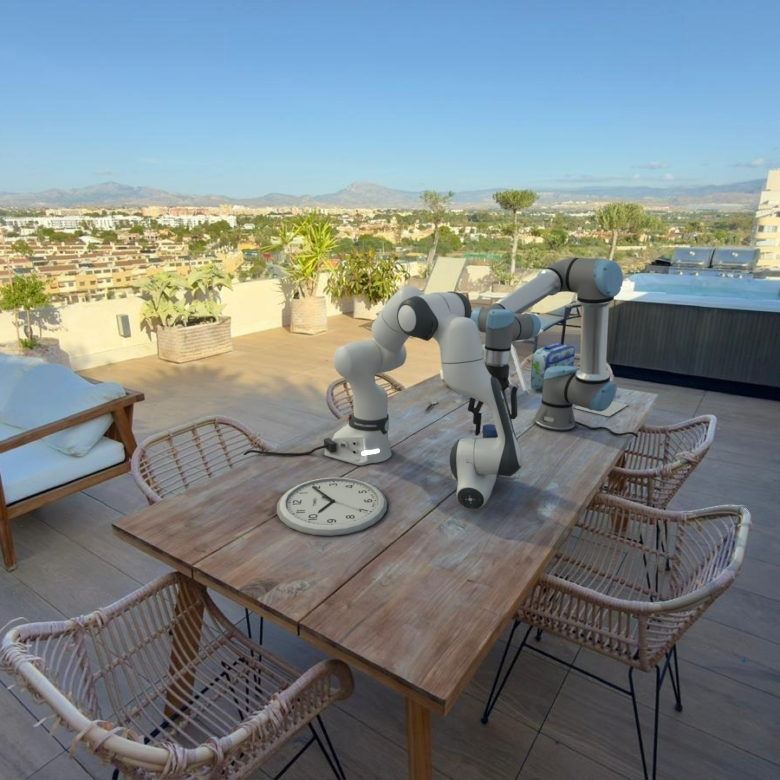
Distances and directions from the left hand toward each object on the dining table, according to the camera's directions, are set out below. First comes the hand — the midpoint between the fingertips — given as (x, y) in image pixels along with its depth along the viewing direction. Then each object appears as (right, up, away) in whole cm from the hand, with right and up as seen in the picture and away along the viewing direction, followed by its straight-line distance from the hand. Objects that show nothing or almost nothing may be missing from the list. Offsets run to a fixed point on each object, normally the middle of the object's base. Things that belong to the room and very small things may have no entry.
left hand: (489, 454), depth 161 cm
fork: (-13, +13, +61) cm, 64 cm away
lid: (0, +8, -4) cm, 9 cm away
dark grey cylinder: (0, -6, +1) cm, 6 cm away
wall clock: (-47, -12, -19) cm, 51 cm away
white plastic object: (+11, +19, +82) cm, 85 cm away
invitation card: (+61, +13, +65) cm, 90 cm away
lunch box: (+47, +21, +90) cm, 104 cm away
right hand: (0, +6, -3) cm, 7 cm away
